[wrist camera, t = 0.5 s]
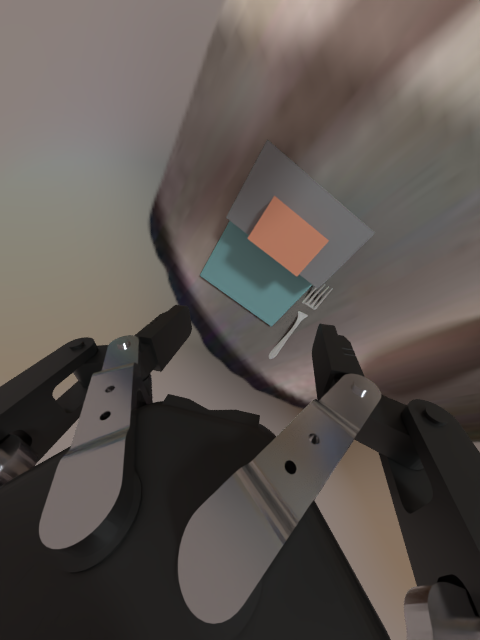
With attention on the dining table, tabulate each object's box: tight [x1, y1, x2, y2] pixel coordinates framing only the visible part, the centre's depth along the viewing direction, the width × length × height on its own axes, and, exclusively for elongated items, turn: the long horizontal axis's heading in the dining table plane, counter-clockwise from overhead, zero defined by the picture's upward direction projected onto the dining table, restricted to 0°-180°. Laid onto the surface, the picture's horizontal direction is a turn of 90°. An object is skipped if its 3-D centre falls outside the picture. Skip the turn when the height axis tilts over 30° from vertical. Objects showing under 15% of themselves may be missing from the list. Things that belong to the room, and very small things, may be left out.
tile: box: [247, 196, 329, 276], centre depth 26 cm, size 6×9×2 cm, turn 56°
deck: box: [226, 139, 375, 289], centre depth 28 cm, size 10×18×4 cm, turn 56°
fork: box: [269, 284, 332, 359], centre depth 39 cm, size 3×24×2 cm, turn 157°
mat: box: [200, 221, 312, 327], centre depth 35 cm, size 12×18×1 cm, turn 56°
